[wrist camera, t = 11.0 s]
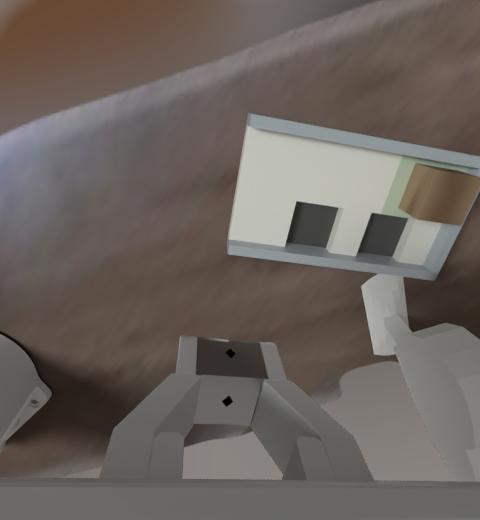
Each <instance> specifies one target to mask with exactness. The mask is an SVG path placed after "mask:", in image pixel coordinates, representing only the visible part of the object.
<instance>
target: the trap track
mask: <svg viewBox="0 0 480 520" xmlns="http://www.w3.org/2000/svg"><path fill="white" fill-rule="evenodd" d="M415 163H417V164H423V165H429V166H435V167H440V168H446V169H452V170H458V171H461V172H464V173H468V174H471V175H475V176H478V177H480V156H476V155H471V154H466V153H460V152H455V151H450V150H444V149H439V148H434V147H429V146H423V145H418V144H413V143H407V142H402V141H397V140H391V139H386V138H381V137H375V136H370V135H365V134H359V133H354V132H349V131H343V130H338V129H333V128H327V127H322V126H317V125H311V124H306V123H301V122H295V121H290V120H285V119H280V118H274V117H269V116H264V115H258V114H253V113H248V118H247V125H246V131H245V137H244V143H243V149H242V155H241V161H240V167H239V173H238V179H237V185H236V191H235V197H234V203H233V209H232V215H231V221H230V227H229V233H228V239H227V251H228V254H230V255H238V256H246V257H254V258H262V259H269V260H277V261H285V262H293V263H301V264H308V265H316V266H324V267H332V268H340V269H347V270H355V271H363V272H371V273H379V274H387V275H394V276H402V277H410V278H418V279H426V280H433V281H435V280H436V278H437V276H438V274H439V272H440V270H441V268H442V266H443V264H444V262H445V260H446V258H447V256H448V254H449V252H450V250H451V248H452V246H453V244H454V242H455V240H456V238H457V236H458V234H459V232H460V230H461V228H462V226H463V224H464V222H465V220H466V218H467V216H468V214H469V212H470V210H471V208H472V206H473V204H474V202H475V200H476V198H477V196H478V194H479V192H480V188H479V190H478V192H477V194H476V196H475V198H474V200H473V202H472V204H471V206H470V208H469V210H468V212H467V214H466V216H465V218H464V220H463V222H462V224H461V226H458V225H451V224H445V223H438V222H431V221H425V220H418V219H416V218H414V217H412V216H410V215H409V214H407V213H405V212H404V211H402V210H400V209H399V208H398V207H399V204H400V201H401V199H402V196H403V194H404V191H405V189H406V186H407V184H408V181H409V179H410V176H411V173H412V171H413V168H414V166H415Z"/></svg>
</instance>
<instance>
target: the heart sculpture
mask: <svg viewBox="0 0 480 520" xmlns="http://www.w3.org/2000/svg"><path fill="white" fill-rule="evenodd" d="M361 288H362V294H363V299H364V304H365V309H366V314H367V320H368V325H369V330H370V335H371V340H372V345H373V351H374V355H394V354H396V356H397V359H398V361H399V364H400V367H401V370H402V372H403V375H404V378H405V381H406V384H407V386H408V389H409V391H410V394H411V396H412V399H413V401H414V404H415V406H416V409H417V411H418V414H419V416H420V418H421V419H422V422H423V424H424V426H425V428H426V430H427V432H428V434H429V436H430V438H431V441H432V442H433V444H434V446H435V447H436V449H437V451H438V453H439V454H440V456H441V458H442V460H443V461H444V463H445V465H446V466H447V468H448V470H449V471H450V473H451V474H452V476H453V477H454V479H455V480H456V481H469V482H480V339H478V338H477V337H476V336H474V335H473V334H472V333H470V332H469V331H468V330H466V329H465V328H464V327H461V326H457V325H453V324H448V323H443V324H440V325H436V326H433V327H429V328H426V329H423V330H419V331H416V332H412V331H411V330H410V329H409V323H408V315H407V307H406V298H405V290H404V282H403V277H402V276H394V275H387V274H377V275H375V276H373V277H372V278H370V279H369V280H368V281H367V282H365V283H364V284H363V285H362V286H361Z"/></svg>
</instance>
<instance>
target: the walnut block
mask: <svg viewBox="0 0 480 520" xmlns="http://www.w3.org/2000/svg"><path fill="white" fill-rule="evenodd" d="M479 188H480V177H478V176H475V175H471V174H468V173H464V172H461V171H458V170H452V169H446V168H440V167H435V166H429V165H423V164H417V163H415V166H414V168H413V171H412V173H411V176H410V179H409V181H408V184H407V186H406V189H405V191H404V194H403V196H402V199H401V201H400V204H399V207H398V208H399V209H400V210H402V211H404V212H405V213H407V214H409V215H410V216H412V217H414V218H416V219H418V220H425V221H431V222H438V223H445V224H451V225H458V226H461V224H462V222H463V220H464V218H465V216H466V214H467V212H468V210H469V208H470V206H471V204H472V202H473V200H474V198H475V196H476V194H477V192H478V190H479Z"/></svg>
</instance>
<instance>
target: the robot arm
mask: <svg viewBox="0 0 480 520" xmlns="http://www.w3.org/2000/svg"><path fill="white" fill-rule="evenodd" d="M51 395H52V393H51V390H50V389H49V388H48V387H47V386H46V385H45V384H44V383H43V382H42V381H41V380H40V378H39V376H38V374H37V371H36V369H35V366H34V364H33V362H32V360H31V359H30V357H29V356H28V355H27V354H26V353H25V351H24V350H23V349H22V348H20V347H19V346H18V345H17V344H16V343H14V342H13V341H11V340H10V339H8V338H7V337H5V336H3V335H1V334H0V454H1V452H2V451H3V449H4V447H5V444H6V440H7V439H8V438H9V437H11V436H12V435H13V434H14V433H15V432H16V431H17V430H18V429H19V428H20V427H21V426H22V425H23V424H24V423H25V422H26V421H27V420H29V419H30V418H31V417H32V416H33V415H34V414H35V413H36V412H37V411H38V410H39V409H40V408H41V407H42V406H43V405H44V404H45V403H46V402H47V401H48V400H49V398H50V397H51ZM193 424H229V425H244V426H251V429H252V430H253V432H254V433H255V434H256V436H257V437H258V439H259V440H260V442H261V443H262V444H263V446H264V447H265V449H266V450H267V452H268V453H269V455H270V456H271V457H272V459H273V460H274V462H275V463H276V465H277V466H278V467H279V469H280V470H281V472H282V473H283V475H284V476H283V478H282V480H218V479H217V480H213V479H212V480H211V479H207V480H206V479H182V470H183V450H184V439H185V437H186V436H187V434H188V433H189V431H190V430H191V428H192V427H193ZM0 520H480V482H469V481H454V482H453V481H374V479H373V477H372V475H371V473H370V471H369V469H368V466H367V464H366V462H365V460H364V458H363V455H362V453H361V451H360V449H359V447H358V444H357V442H356V440H355V438H354V437H353V436H352V435H351V434H350V433H349V432H348V431H347V430H346V429H345V428H343V427H342V426H341V425H340V424H339V423H338V422H337V421H336V420H334V419H333V418H332V417H331V416H330V415H329V414H327V412H326V411H324V410H323V409H322V408H321V407H320V406H319V405H318V404H317V403H316V402H314V401H313V400H312V399H311V398H310V397H309V396H308V395H307V394H305V393H304V392H303V391H302V390H301V389H300V388H299V387H298V386H297V385H295V384H294V383H293V382H292V381H287V379H286V376H285V373H284V369H283V366H282V363H281V360H280V357H279V353H278V350H277V347H276V345H275V344H274V343H267V342H245V341H232V340H223V339H214V338H204V337H193V336H182V335H181V336H180V342H179V349H178V357H177V365H176V372H175V374H170V375H169V376H168V377H167V378H166V379H165V380H164V381H163V382H162V383H161V384H160V385H159V386H158V387H157V388H156V389H154V390H153V391H152V392H151V393H150V394H149V395H148V396H147V397H146V398H145V399H144V400H143V401H142V402H141V403H140V404H139V405H138V406H137V407H136V408H135V409H134V410H132V411H131V412H130V413H129V414H128V415H127V416H126V417H125V418H124V419H123V420H122V421H121V422H120V423H119V424H118V425H117V426H116V427H115V428H114V429H113V432H112V435H111V439H110V442H109V446H108V449H107V452H106V456H105V459H104V463H103V466H102V470H101V473H100V476H99V479H96V478H95V479H94V478H85V479H84V478H0Z"/></svg>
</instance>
